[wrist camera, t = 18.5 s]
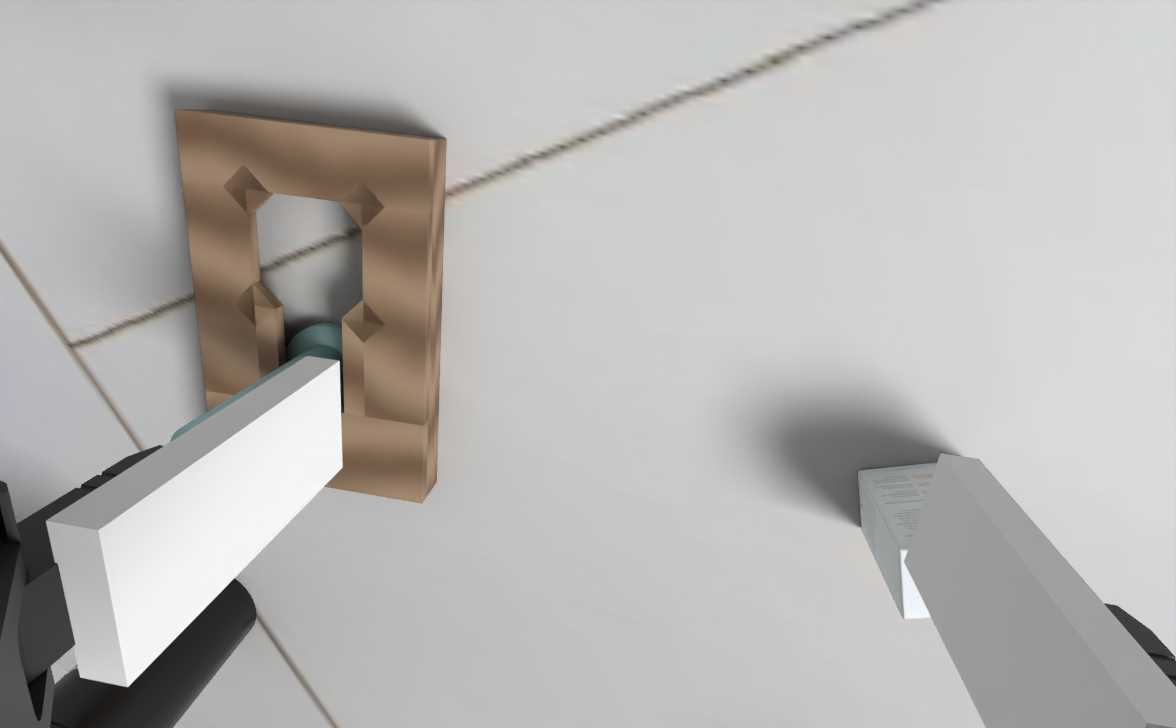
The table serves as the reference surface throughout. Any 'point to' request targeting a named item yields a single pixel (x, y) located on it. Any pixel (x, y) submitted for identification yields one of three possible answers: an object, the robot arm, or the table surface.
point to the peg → (292, 362)
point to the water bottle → (160, 673)
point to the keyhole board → (389, 272)
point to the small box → (895, 526)
